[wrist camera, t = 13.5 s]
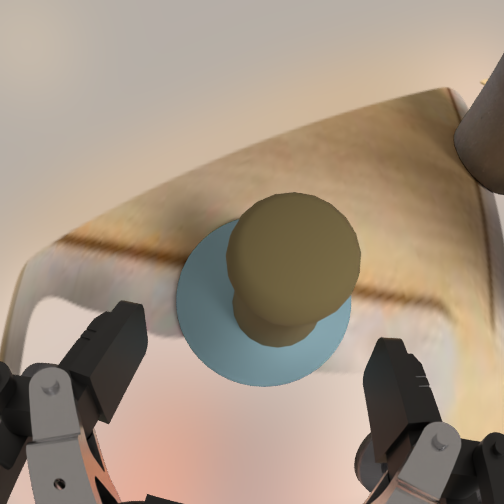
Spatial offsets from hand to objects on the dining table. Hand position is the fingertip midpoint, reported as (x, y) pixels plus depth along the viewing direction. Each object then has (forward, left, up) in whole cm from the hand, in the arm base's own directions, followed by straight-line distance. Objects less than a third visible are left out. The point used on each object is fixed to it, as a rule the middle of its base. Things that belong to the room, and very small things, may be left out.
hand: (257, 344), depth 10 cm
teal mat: (0, -4, -11) cm, 12 cm away
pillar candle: (-23, -22, -11) cm, 34 cm away
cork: (-1, -3, -10) cm, 11 cm away
